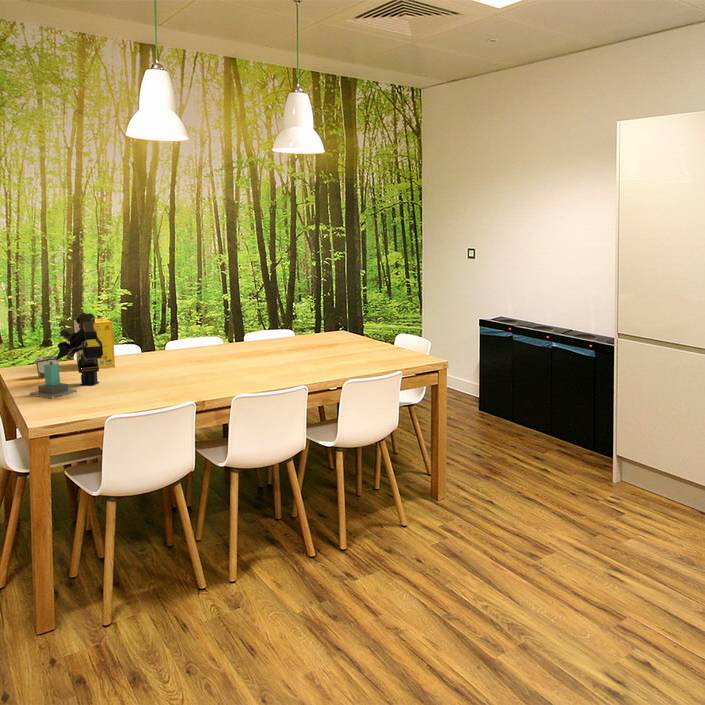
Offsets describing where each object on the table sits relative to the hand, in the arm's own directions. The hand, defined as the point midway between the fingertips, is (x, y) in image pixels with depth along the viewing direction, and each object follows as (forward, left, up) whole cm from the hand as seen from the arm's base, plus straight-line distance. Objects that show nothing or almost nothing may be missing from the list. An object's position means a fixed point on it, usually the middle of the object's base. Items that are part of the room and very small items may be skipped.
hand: (62, 356), depth 335 cm
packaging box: (+4, -38, -13) cm, 40 cm away
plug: (-7, +22, -12) cm, 26 cm away
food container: (+16, -10, -13) cm, 23 cm away
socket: (-7, +22, -13) cm, 26 cm away
